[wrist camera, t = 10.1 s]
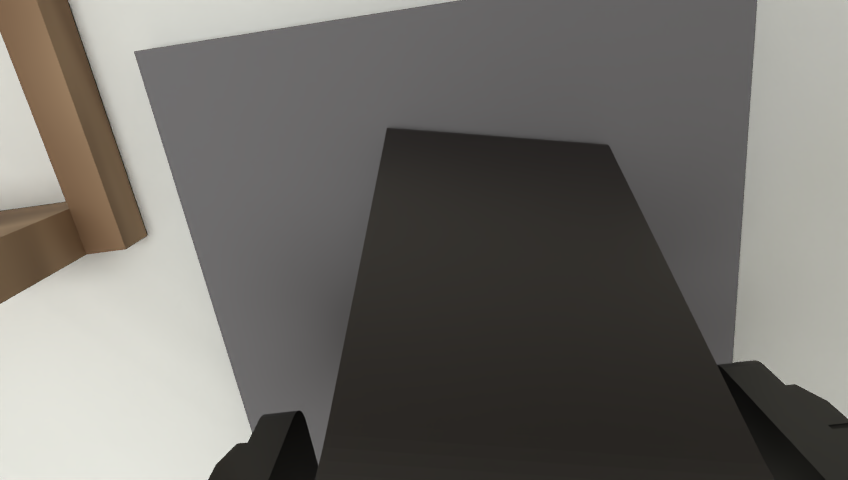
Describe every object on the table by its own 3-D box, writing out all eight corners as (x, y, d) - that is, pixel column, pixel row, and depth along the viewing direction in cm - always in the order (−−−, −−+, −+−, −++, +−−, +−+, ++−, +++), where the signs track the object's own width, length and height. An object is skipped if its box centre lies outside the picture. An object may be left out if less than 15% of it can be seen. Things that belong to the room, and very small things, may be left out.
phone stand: (388, 124, 14) (210, 404, 3) (605, 142, 14) (1311, 487, 3) (372, 399, 17) (258, 1073, 6) (552, 412, 17) (787, 1102, 6)
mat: (741, -41, 13) (760, -47, 13) (713, 451, 19) (725, 468, 18) (149, 51, 14) (134, 51, 13) (282, 495, 20) (276, 512, 19)
